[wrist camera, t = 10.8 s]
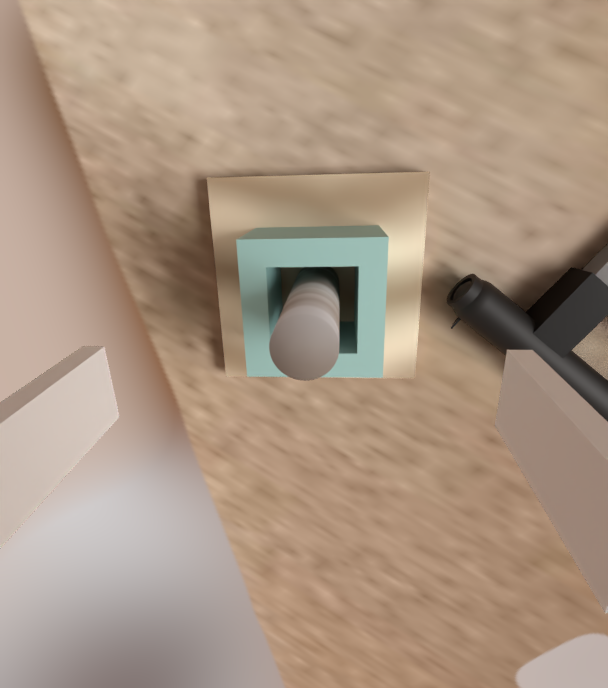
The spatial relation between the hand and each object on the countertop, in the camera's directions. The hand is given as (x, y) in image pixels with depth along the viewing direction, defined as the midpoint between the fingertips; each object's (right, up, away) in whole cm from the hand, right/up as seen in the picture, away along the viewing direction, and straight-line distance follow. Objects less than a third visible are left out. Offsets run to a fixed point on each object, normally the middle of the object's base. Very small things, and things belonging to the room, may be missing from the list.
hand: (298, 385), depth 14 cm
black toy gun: (+22, +4, +16) cm, 28 cm away
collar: (+1, +5, +15) cm, 16 cm away
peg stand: (+1, +6, +16) cm, 18 cm away
